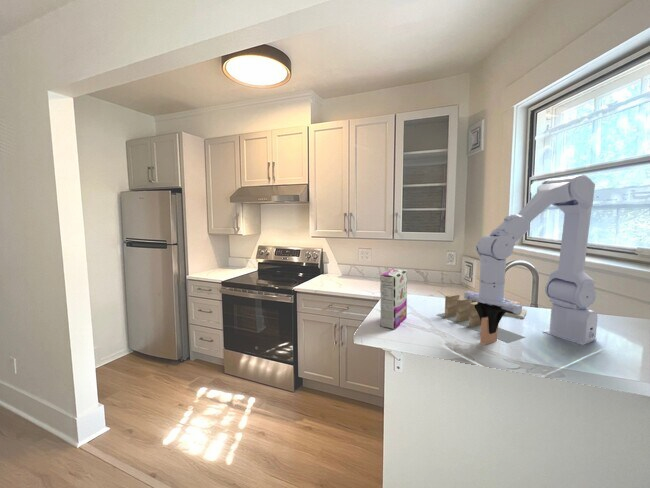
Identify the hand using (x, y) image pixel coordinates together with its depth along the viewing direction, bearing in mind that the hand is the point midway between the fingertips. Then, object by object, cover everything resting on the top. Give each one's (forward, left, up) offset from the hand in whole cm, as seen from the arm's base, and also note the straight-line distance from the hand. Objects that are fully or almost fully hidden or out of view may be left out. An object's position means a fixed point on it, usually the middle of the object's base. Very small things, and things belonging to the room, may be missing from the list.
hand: (489, 331), depth 77 cm
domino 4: (0, 0, -3) cm, 3 cm away
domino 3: (+9, -7, -3) cm, 12 cm away
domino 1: (+18, -7, -3) cm, 20 cm away
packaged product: (+16, -26, -4) cm, 31 cm away
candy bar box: (+23, +13, -3) cm, 27 cm away
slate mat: (+9, -7, -3) cm, 12 cm away
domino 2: (+14, -7, -3) cm, 16 cm away
